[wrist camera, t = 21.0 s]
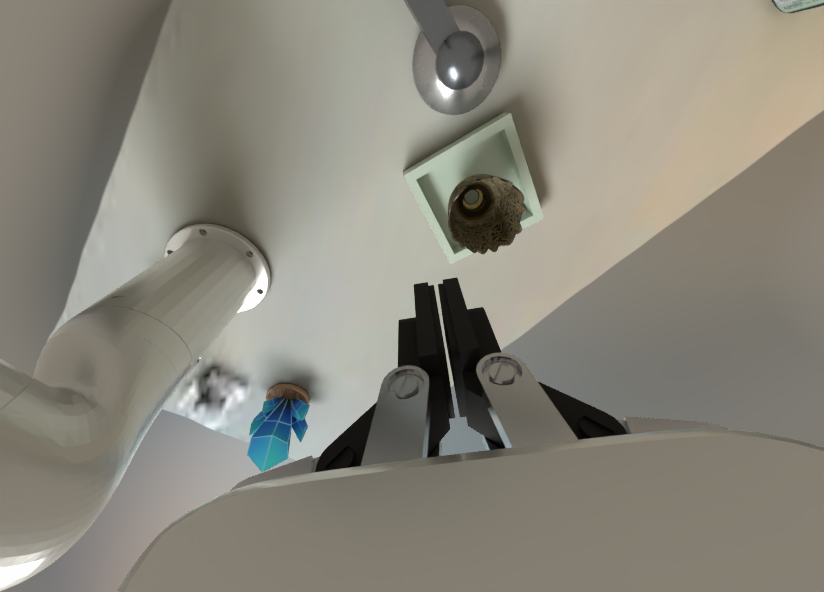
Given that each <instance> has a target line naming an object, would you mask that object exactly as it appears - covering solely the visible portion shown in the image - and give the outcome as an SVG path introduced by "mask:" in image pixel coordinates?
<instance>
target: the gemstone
mask: <svg viewBox="0 0 824 592" xmlns="http://www.w3.org/2000/svg"><path fill="white" fill-rule="evenodd" d="M266 400H267V401H264V405H263V409H262V411H261V412H260V413H259V414H258V415H257V416H256V417H255V418H254V420H253V422H252V424H251V428H250V434H249V435H252V434H254V435H253V436H252V437H251V440H250V445H249V449H248V453H247V455H248V456H249V458H250V459H251V460H252V461H253V462H254V463H255V464H256V466H257V467H258V468H259V469H260V470H261V472H264V471H266V470H267V469H270V468H271V467H273V466H275V465H277V464H279V463H281V462H282V461H284V460H286V459H288V453H289V445H290V436H291V428H293V430H294V431H295V433H296V436H297V438H298V439H299V441H300V442H301V441H302V439H303V437H304V434H305V432H306V430H307V428H308V426H307V423H306V421H305V416H306V414H307V412H308V409H309V406H310V405H309V396H308V394H307V393H306V392H305V391H304V390H303V389H302V388H300V387H298V386H296V385H292V384H278V385H275V386H273V387H271V388H270V389H269V391H268V393H267V395H266Z"/></svg>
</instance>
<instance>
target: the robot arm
mask: <svg viewBox="0 0 824 592" xmlns="http://www.w3.org/2000/svg"><path fill="white" fill-rule="evenodd" d="M270 281H271V277H270V270H269V267H268V265H267V262H266V260H265V259H264V257H263V255H262V254H261V252H260V251H259V250H258V249H257V248H256V246H255V245H253V244H252V243H251V242H250V241H249V240H248V239H246V238H245V237H243V236H242V235H240V234H239V233H237V232H235V231H233V230H231V229H229V228H226V227H222V226H219V225H214V224H195V225H191V226H188V227H186V228H183V229H181V230H180V231H178V232H177V233H175V234H174V235H173V236H172V237H171V238H170V239H169V241H168V243H167V245H166V247H165V253H164V258H163V259H162V260H160V261H159V262H157V263H156V264H154V265H153V266H151V267H150V268H148V269H147V270H145V271H143V272H142V273H140V274H139V275H137V276H136V277H134V278H133V279H131V280H130V281H128V282H127V283H125V284H124V285H122V286H120V287H119V288H117V289H116V290H114V291H113V292H111V293H110V294H108V295H107V296H105V297H104V298H102V299H101V300H99V301H97V302H96V303H94V304H93V305H91V306H90V307H88V308H87V309H85V310H84V311H82V312H81V313H79V314H78V315H76V316H75V317H73V318H72V319H70V320H68V321H67V322H66V323H65V324H63V325H62V326H61V327H60V328H59V329H58V330H57V331H56V332H55V333H54V334H53V335H52V336H51V338H50V339H49V341H48V342H47V344H46V345H45V347H44V349H43V351H42V353H41V355H40V357H39V359H38V362H37V365H36V369H35V372H34V376H33V377H30V376H28V375H26V374H25V373H23V372H21V371H20V370H18V369H16V368H15V367H13V366H12V365H10V364H8V363H7V362H5V361H3V360H2V359H0V591H2V590H4V589H7V588H10V587H12V586H14V585H17V584H19V583H21V582H23V581H25V580H27V579H28V578H30V577H32V576H34V575H35V574H37V573H38V572H40V571H42V570H43V569H45V568H46V567H47V566H49V565H50V564H52V563H53V562H54V561H56V560H57V559H58V558H59V557H60V556H62V555H63V554H64V553H65V552H66V551H67V550H68V549H70V548H71V547H72V546H73V545H74V544H75V543H76V542H77V541H78V540H79V539H80V538H81V536H83V534H84V533H85V532H86V531H87V530H88V529H89V528H90V526H91V525H92V524H93V523H94V521H95V520H96V519H97V517H98V516H99V514H100V513H101V512H102V510H103V509H104V507H105V506H106V505H107V503H108V501H109V500H110V498H111V497H112V495H113V493H114V491H115V490H116V488H117V486H118V485H119V483H120V481H121V479H122V477H123V475H124V473H125V471H126V469H127V467H128V465H129V463H130V462H131V460H132V457H133V456H134V454H135V452H136V450H137V448H138V446H139V444H140V443H141V441H142V439H143V437H144V436H145V434H146V433H147V431H148V429H149V428H150V426H151V424H152V423H153V421H154V420H155V418H156V417H157V415H158V414H159V413H160V411H161V410H162V408H163V407H164V406H165V404H166V403H167V402H168V400H169V399H170V398H171V396H172V395H173V393H174V392H175V391H176V390H177V388H178V387H179V386H180V384H181V383H182V382H183V381H184V379H185V378H186V377H187V375H188V374H189V373H190V372H191V370H192V369H193V368H194V367H195V365H196V364H197V363H198V362H199V360H200V359H201V358H202V356H203V355H204V354H205V353H206V351H207V350H208V349H209V348H210V346H211V345H212V344H213V342H214V341H215V340H216V339H217V337H218V336H219V335H220V334H221V332H222V331H223V330H224V328H225V327H226V326H227V325H228V323H229V322H230V321H231V320H232V318H233V317H234V316H235V314H236V313H237V312H242V311H247V310H249V309H251V308H254V307H255V306H256V305H258V304H259V303H260V302H261V301H262V300H263V299H264V297H265V296H266V294H267V293H268V290H269V287H270ZM438 288H439V295H440V302H441V309H442V316H443V323H444V330H445V337H446V343H447V349H448V354H449V360H450V365H451V371H452V376H453V381H454V387H455V392H456V398H457V403H458V408H459V414H460V417H465V416H466V418H467V423H468V426H470V427H471V428H473V429H474V430H476V431H477V432H479V433H480V434H481V436H482V440H483V443H484V446H485V448H486V451H479V452H471V453H463V454H454V455H447V456H442V443H441V439H442V438H443V437H444V436H445V434H446V433H447V432H448V431H449V429H450V424H449V418H455V414H454V408H453V401H452V394H451V387H450V381H449V374H448V367H447V361H446V354H445V348H444V342H443V336H442V330H441V325H440V319H439V313H438V307H437V302H436V296H435V290H434V285H431V286H428V282H426V283H420V284H414V295H415V310H416V317H415V318H409V319H402V320H399V333H398V368H396V369H394V370H392V371H391V372H389V373H388V374H387V376H386V377H385V378H384V380H383V382H382V385H381V389H380V393H379V396H378V400H377V402H376V403H375V404H374V405H373V406H372V407H371V408H370V409H369V410H368V411H367V412H365V413H364V414H363V415H362V416H361V417H360V418H359V419H358V420H357V421H356V422H354V423H353V424H352V425H351V426H350V427H349V428H348V429H347V430H346V431H345V432H344V433H342V434H341V435H340V436H339V437H338V438H337V439H336V440H335V441H334V442H333V443H332V444H330V445H329V446H328V447H327V448H326V449H325V451H324V452H323V453H322V454H321V456H320V457H317V458H313V457H312V456H309V457H306V458H303V459H300V460H298V461H295V462H292V463H289V464H287V465H283V466H281V467H278V468H275V469H272V470H269V471H267V472H264V473H261V474H258V475H255V476H252V477H250V478H248V479H245V480H243V481H241V482H240V483H238V484H237V485H236V486H235V487H234V488H233V489H232V490H230V491H229V492H227V493H224V494H222V495H219V496H217V497H215V498H213V499H211V500H209V501H207V502H205V503H203V504H201V505H199V506H197V507H195V508H194V509H192V510H191V511H189V512H187V513H186V514H184V515H183V516H181V517H180V518H178V519H177V520H175V521H174V522H172V523H171V524H170V525H169V526H168V527H167V528H165V529H164V530H163V531H162V532H161V533H160V534H159V535H158V536H157V537H156V538H155V539H154V541H153V542H152V543H151V544H150V545H149V546H148V548H147V549H146V550H145V551H144V553H143V554H142V555H141V556H140V558H139V559H138V561H137V562H136V564H135V565H134V566H133V567H132V569H131V570H130V572H129V573H128V575H127V576H126V578H125V580H124V581H123V582H122V584H121V585H120V587H119V588H118V590H117V591H116V592H824V447H820V446H817V445H814V444H810V443H806V442H803V441H799V440H795V439H791V438H786V437H781V436H775V435H769V434H765V433H760V432H750V431H740V430H729V429H727V428H725V427H722V426H720V425H717V424H712V423H707V422H696V421H682V420H669V419H655V418H641V417H627V416H625V417H624V420H616V419H615V418H614V417H612V416H611V415H608V414H607V413H605V412H603V411H601V410H599V409H596V408H595V407H592V406H590V405H588V404H586V403H584V402H581V401H579V400H577V399H575V398H573V397H570V396H568V395H566V394H564V393H562V392H559V391H557V390H555V389H553V388H551V387H549V386H546V385H544V384H542V383H540V382H537V380H536V379H535V377H534V376H533V374H532V373H531V372H530V370H529V369H528V367H527V366H526V364H525V363H524V362H523V361H522V360H521V359H520V358H518V357H516V356H514V355H511V354H508V353H501V350H500V348H499V345H498V343H497V340H496V338H495V335H494V333H493V330H492V328H491V325H490V323H489V320H488V317H487V315H486V312H485V310H484V308H483V307H481V308H474V309H468V310H467V308H466V304H465V301H464V298H463V295H462V292H461V288H460V285H459V282H458V279H457V278H451V279H445V280H443V284H438Z"/></svg>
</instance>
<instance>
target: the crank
mask: <svg viewBox="0 0 824 592" xmlns="http://www.w3.org/2000/svg"><path fill="white" fill-rule="evenodd" d="M404 2H405V3H406V5H407V7H408V8H409V10H410V12H411V14H412V15H413V17H414V19H415V20H416V22H417V24H418V26H419V27H420V29H421V31H422V33H423V34H424V36H425V38H426V39H427V41H428V43H429V45H430V46H431V48H432V50H433V51H434V53H435V55H436V60H435V69H436V74H437V76H438V79H439V80H440V82H441V83H442V84H443V85H444V86H445V87H446V88H448V89H451V90H461V89H465V88H467V87H469V86H471V85H472V84H473V83H474V82H475V81H476V80H477V79H478V77H479V75H480V73H481V71H482V68H483V63H484V52H483V48H482V45H481V43H480V41H479V39H478V38H477V37H476V36H475V35H474V34H472V33H470V32H468V31H460V29H459V27H458V26H457V24H456V22H455V20H454V18H453V16H452V14H451V12H450V10H449V9H448V7H447V5H446V3H445V1H444V0H404Z"/></svg>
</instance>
